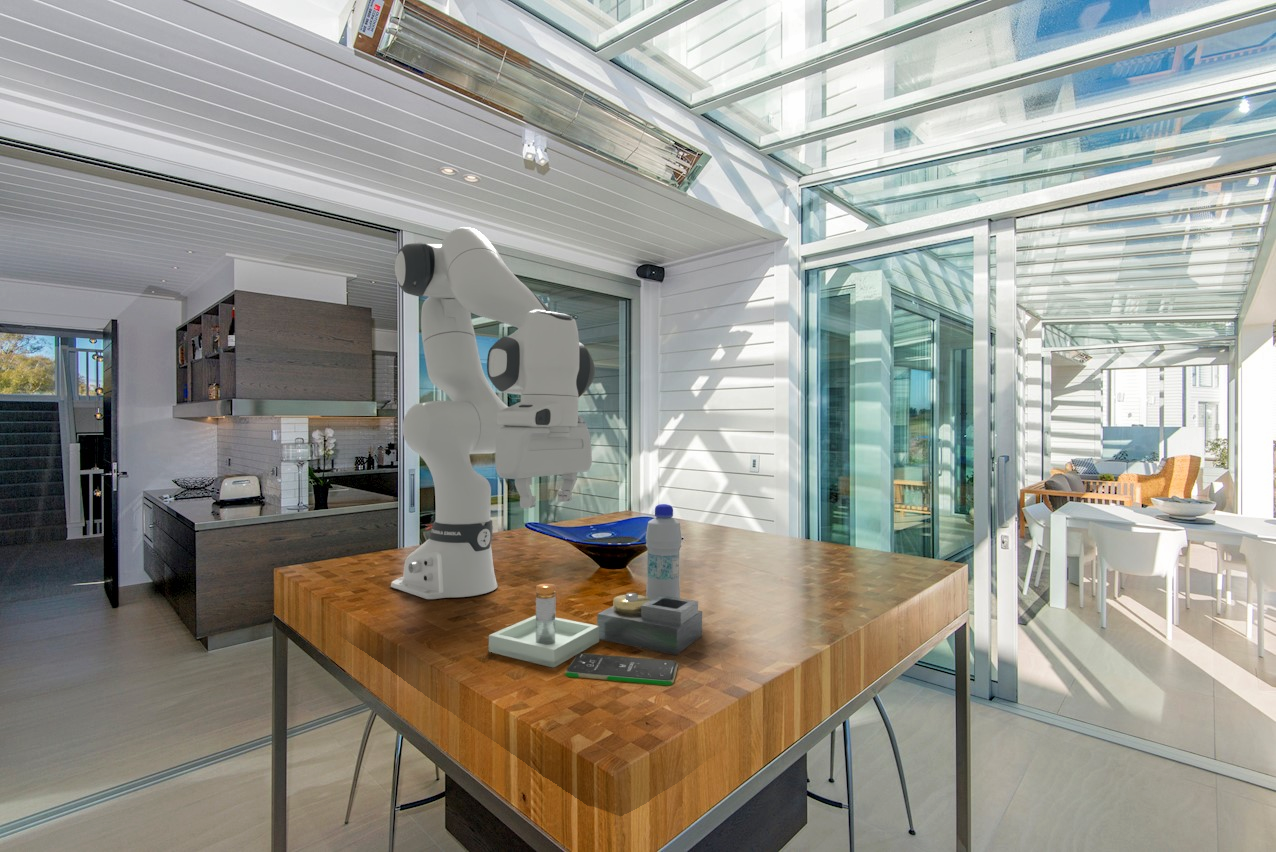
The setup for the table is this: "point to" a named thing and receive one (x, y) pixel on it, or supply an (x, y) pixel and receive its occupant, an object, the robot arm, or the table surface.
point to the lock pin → (545, 613)
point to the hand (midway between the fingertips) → (546, 504)
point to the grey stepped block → (651, 622)
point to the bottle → (663, 554)
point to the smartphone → (623, 669)
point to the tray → (524, 647)
